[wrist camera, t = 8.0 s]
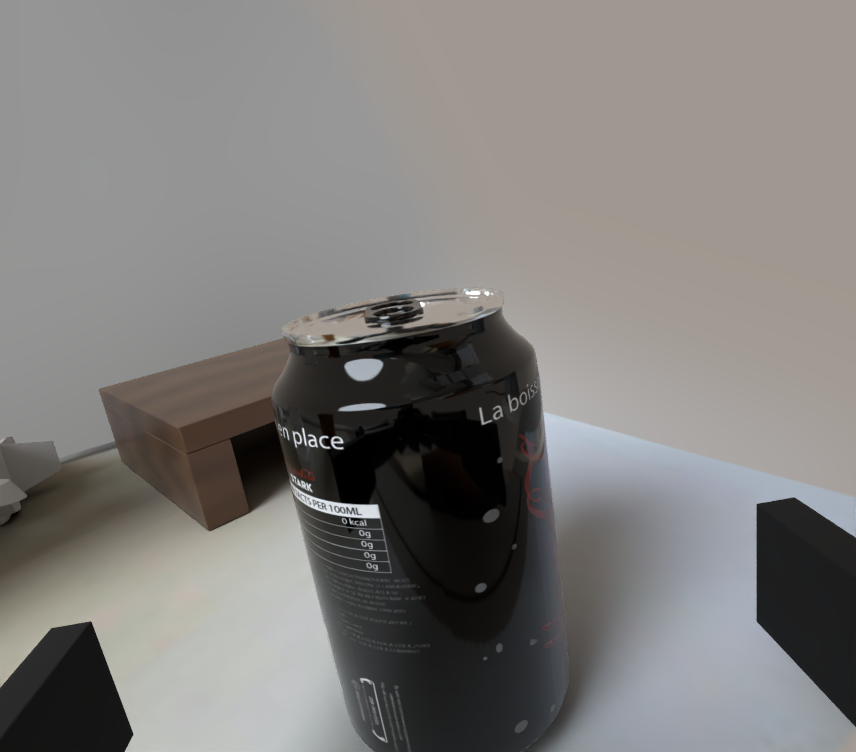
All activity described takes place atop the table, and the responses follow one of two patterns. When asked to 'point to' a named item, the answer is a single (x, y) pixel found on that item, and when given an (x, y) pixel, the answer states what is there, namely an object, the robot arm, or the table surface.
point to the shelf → (196, 427)
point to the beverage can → (428, 518)
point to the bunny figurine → (23, 471)
